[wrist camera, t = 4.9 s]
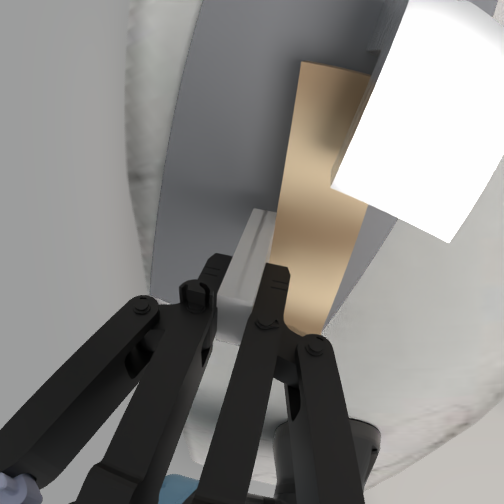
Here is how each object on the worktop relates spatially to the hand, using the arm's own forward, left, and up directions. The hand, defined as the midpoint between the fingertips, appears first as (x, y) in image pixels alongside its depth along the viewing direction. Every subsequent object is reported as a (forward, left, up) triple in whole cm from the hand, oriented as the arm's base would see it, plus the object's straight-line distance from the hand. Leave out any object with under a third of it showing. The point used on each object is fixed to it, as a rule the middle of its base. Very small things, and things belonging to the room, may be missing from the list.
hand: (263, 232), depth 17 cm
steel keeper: (+10, -4, -3) cm, 11 cm away
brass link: (0, -3, -2) cm, 3 cm away
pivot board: (+3, 0, -3) cm, 5 cm away
